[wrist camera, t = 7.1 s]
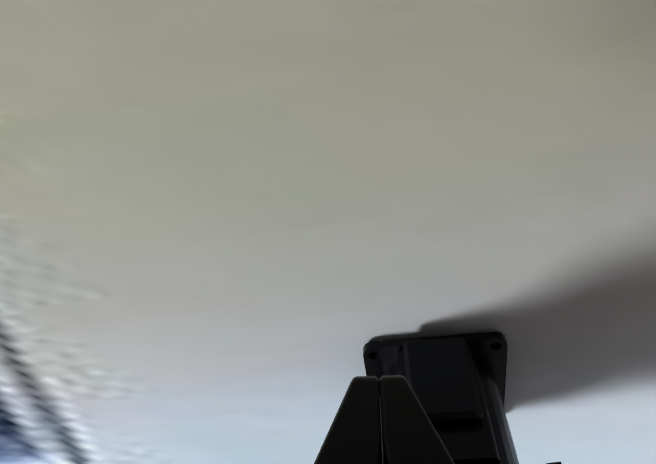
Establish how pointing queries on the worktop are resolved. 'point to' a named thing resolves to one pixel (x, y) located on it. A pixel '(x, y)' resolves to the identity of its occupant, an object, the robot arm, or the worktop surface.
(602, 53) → the worktop surface
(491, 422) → the robot arm
